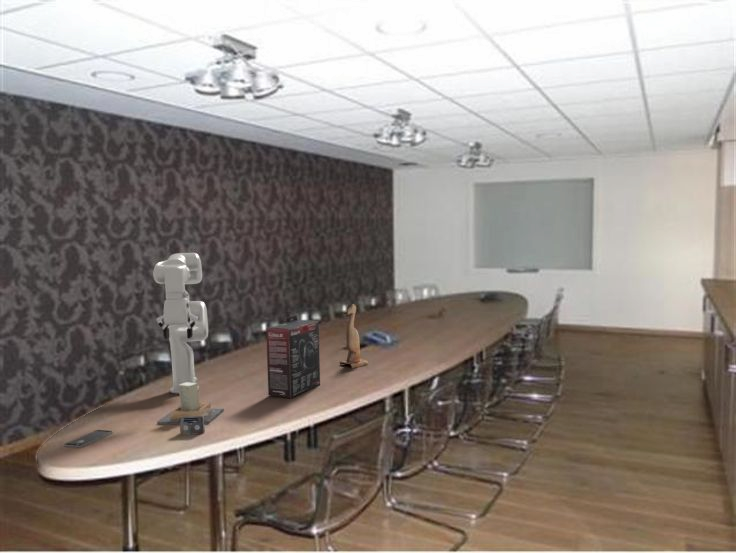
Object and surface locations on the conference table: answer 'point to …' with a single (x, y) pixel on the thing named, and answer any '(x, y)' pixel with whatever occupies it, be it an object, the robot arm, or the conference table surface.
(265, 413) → the conference table surface
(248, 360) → the conference table surface
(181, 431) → the mini dv tape
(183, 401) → the skincare box
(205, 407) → the collar socket
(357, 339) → the bird sculpture
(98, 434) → the phone
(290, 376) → the headset box
